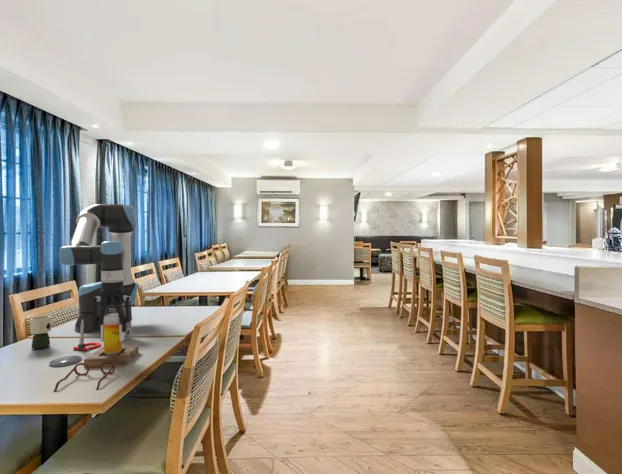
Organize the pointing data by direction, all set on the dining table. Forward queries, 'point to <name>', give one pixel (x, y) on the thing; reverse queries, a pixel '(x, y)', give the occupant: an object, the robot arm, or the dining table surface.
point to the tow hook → (81, 342)
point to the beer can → (112, 334)
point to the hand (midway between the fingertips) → (112, 340)
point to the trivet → (64, 361)
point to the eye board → (112, 357)
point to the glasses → (88, 371)
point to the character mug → (40, 331)
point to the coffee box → (128, 332)
